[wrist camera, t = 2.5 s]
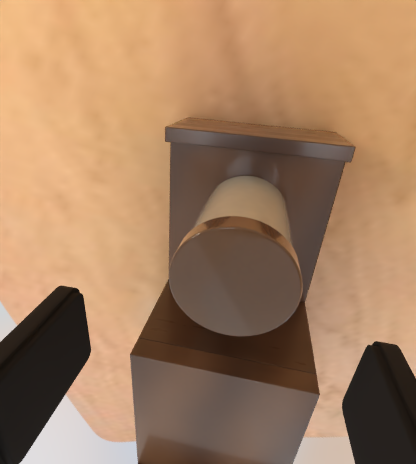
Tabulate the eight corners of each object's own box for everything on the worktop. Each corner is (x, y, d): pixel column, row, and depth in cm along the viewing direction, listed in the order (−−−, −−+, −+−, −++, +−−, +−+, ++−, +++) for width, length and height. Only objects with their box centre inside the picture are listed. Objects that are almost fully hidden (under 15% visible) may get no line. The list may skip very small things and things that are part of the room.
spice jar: (299, 178, 17) (318, 238, 10) (281, 258, 20) (287, 347, 13) (206, 167, 18) (168, 217, 11) (200, 246, 20) (167, 324, 14)
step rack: (336, 132, 19) (435, 203, 8) (274, 368, 30) (277, 545, 18) (187, 117, 20) (84, 160, 9) (178, 349, 31) (126, 502, 20)
